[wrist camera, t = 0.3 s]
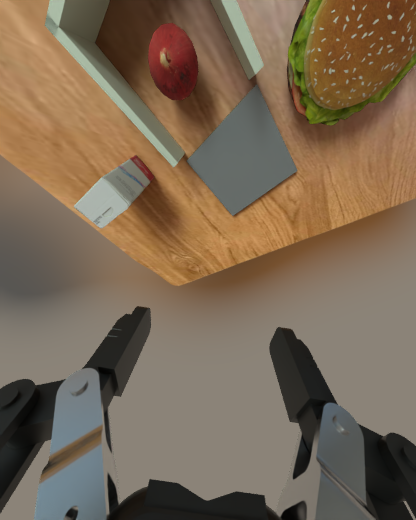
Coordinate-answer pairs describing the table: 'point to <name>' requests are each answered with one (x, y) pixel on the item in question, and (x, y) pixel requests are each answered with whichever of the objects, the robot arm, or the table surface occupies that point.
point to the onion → (173, 61)
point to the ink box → (115, 192)
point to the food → (349, 55)
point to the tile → (243, 155)
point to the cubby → (111, 81)
